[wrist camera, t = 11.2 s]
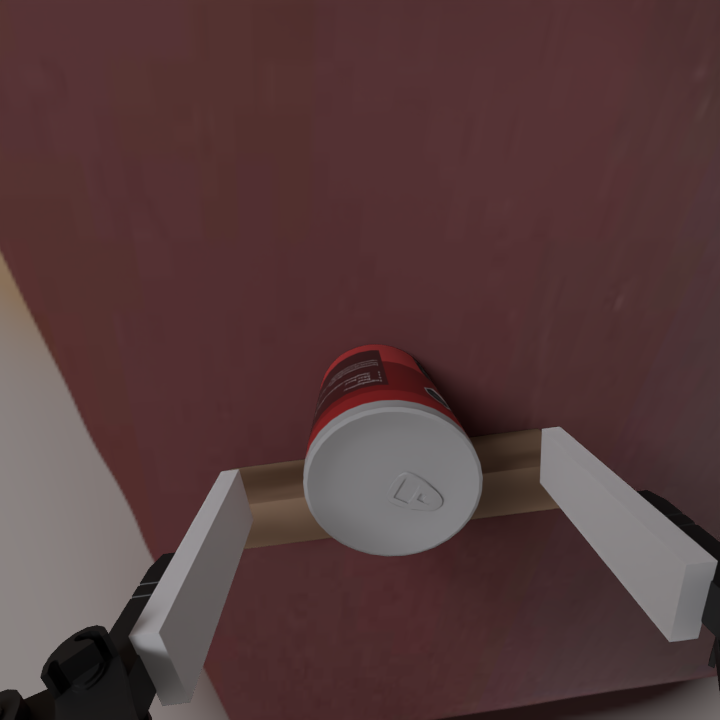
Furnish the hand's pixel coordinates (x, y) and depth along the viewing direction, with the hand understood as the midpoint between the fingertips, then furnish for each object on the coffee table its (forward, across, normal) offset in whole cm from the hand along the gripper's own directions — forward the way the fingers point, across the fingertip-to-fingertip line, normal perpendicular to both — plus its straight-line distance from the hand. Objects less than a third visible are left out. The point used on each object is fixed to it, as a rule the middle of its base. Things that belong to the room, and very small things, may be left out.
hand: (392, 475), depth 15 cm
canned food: (+11, 0, -1) cm, 11 cm away
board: (+10, 0, -7) cm, 13 cm away
